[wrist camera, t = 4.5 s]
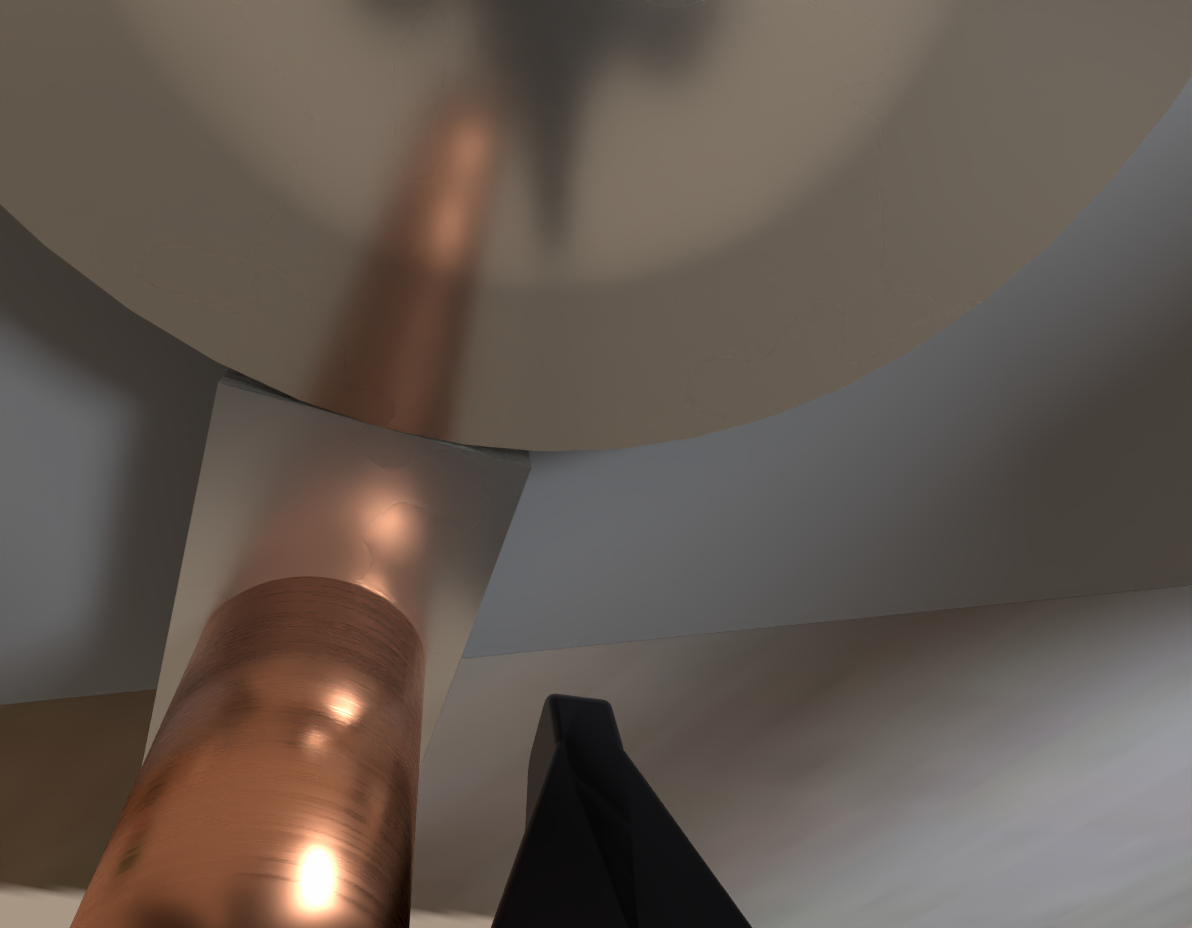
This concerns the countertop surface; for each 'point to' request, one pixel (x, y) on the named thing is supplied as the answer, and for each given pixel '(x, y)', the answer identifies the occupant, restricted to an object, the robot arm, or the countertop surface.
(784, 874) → the countertop surface
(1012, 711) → the countertop surface
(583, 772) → the robot arm
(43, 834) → the countertop surface
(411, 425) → the flange plate
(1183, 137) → the slate board
